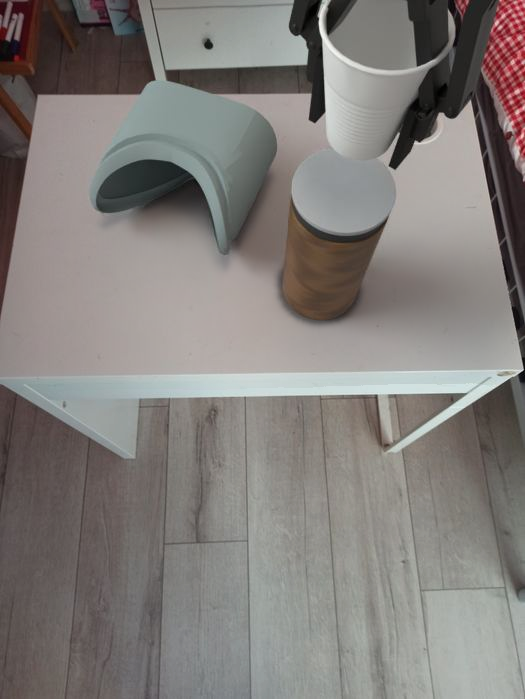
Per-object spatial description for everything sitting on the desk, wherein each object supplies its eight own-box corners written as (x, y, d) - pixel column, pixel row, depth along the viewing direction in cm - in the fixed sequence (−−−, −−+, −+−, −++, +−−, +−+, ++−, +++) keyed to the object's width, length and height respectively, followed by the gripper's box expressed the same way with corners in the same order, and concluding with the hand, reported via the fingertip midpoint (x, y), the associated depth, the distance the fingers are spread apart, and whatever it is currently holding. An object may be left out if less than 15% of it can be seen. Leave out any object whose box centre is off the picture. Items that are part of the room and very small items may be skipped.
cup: (295, 168, 44) (306, 59, 34) (317, 89, 48) (333, -33, 37) (403, 190, 43) (448, 85, 33) (418, 108, 47) (463, -11, 36)
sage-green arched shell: (276, 176, 79) (278, 113, 67) (231, 273, 73) (225, 222, 61) (153, 137, 81) (134, 69, 69) (100, 227, 75) (69, 170, 63)
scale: (409, 193, 54) (415, 179, 51) (355, 263, 51) (359, 251, 48) (327, 145, 56) (330, 130, 54) (270, 209, 53) (270, 196, 51)
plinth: (370, 279, 72) (409, 193, 54) (329, 334, 69) (355, 263, 51) (310, 241, 75) (327, 145, 56) (267, 292, 72) (270, 209, 53)
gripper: (232, -250, 25) (245, 107, 46) (617, -95, 21) (436, 220, 42) (315, -305, 27) (291, 61, 48) (681, -174, 23) (478, 164, 44)
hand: (359, 135), depth 45 cm, fingers closed on cup, 8 cm apart
